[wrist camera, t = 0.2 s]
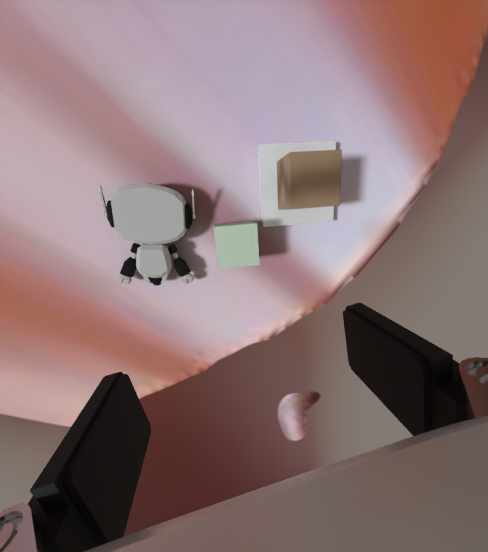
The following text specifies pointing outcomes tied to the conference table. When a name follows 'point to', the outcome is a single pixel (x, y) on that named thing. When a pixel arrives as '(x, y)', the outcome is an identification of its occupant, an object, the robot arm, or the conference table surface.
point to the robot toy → (150, 229)
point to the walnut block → (309, 179)
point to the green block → (236, 244)
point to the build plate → (269, 190)
